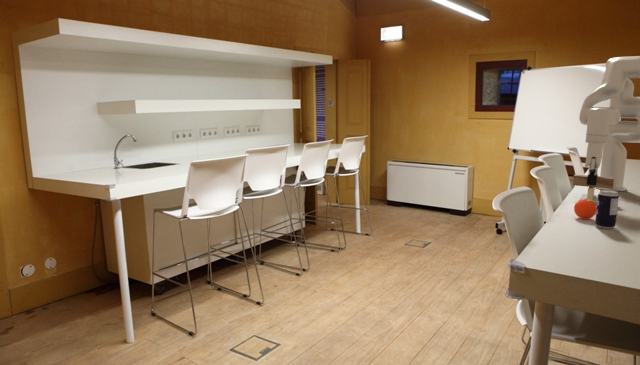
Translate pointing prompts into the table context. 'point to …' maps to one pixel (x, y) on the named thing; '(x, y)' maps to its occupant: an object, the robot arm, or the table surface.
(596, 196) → the ridge stand
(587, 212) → the tomato
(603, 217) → the beverage can
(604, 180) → the walnut rod
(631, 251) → the table surface
